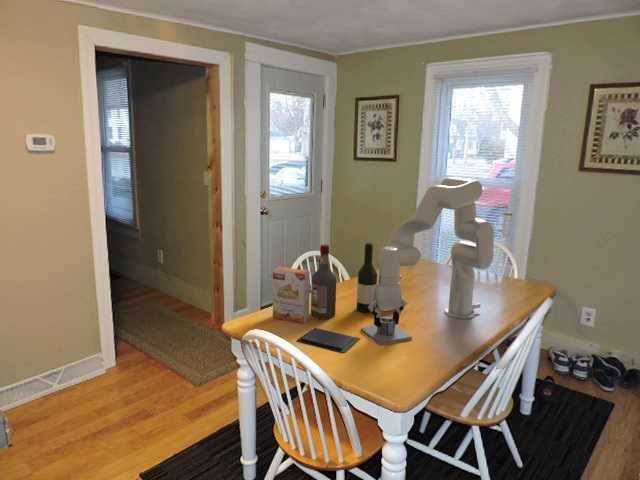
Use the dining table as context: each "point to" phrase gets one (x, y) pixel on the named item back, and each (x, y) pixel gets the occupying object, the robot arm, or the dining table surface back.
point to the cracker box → (291, 294)
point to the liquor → (323, 288)
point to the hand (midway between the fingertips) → (386, 324)
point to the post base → (382, 339)
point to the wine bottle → (366, 281)
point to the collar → (386, 327)
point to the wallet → (328, 340)
